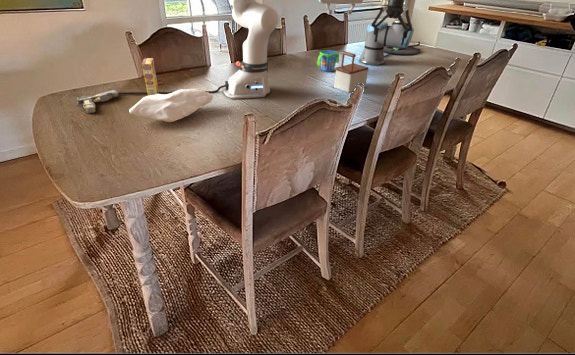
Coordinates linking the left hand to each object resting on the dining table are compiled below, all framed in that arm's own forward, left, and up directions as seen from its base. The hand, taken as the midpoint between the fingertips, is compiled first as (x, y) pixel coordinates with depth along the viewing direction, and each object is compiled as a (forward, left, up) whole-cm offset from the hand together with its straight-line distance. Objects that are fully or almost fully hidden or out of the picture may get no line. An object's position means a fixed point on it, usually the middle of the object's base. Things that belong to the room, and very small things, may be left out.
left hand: (339, 14), depth 167 cm
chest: (+9, -3, -34) cm, 36 cm away
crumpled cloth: (-81, -5, -34) cm, 88 cm away
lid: (+8, -4, -25) cm, 27 cm away
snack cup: (+13, +26, -34) cm, 45 cm away
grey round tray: (+88, +54, -34) cm, 109 cm away
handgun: (-106, +17, -34) cm, 113 cm away
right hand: (+32, -1, -15) cm, 35 cm away
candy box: (-84, +20, -34) cm, 93 cm away
